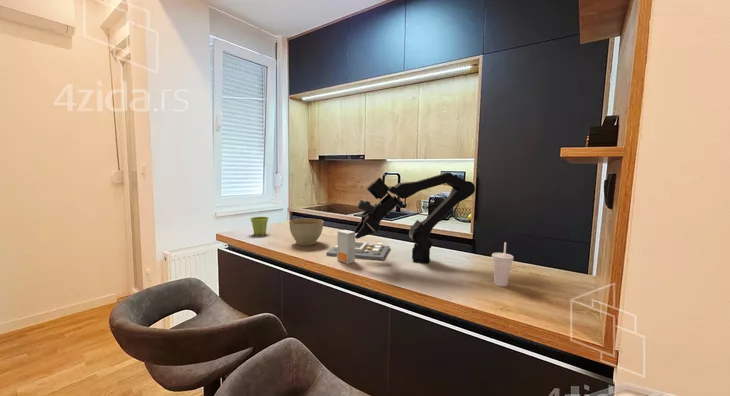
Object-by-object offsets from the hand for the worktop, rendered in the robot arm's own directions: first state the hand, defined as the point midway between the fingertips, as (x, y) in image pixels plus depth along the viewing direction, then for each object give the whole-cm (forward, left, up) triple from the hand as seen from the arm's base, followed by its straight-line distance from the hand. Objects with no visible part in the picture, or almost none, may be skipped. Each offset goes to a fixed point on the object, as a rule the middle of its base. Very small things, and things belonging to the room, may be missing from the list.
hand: (355, 235), depth 117 cm
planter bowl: (+29, -20, -11) cm, 37 cm away
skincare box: (+3, +1, -11) cm, 11 cm away
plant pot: (+61, -31, -11) cm, 70 cm away
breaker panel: (+1, -13, -10) cm, 17 cm away
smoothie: (-52, +10, -11) cm, 54 cm away
